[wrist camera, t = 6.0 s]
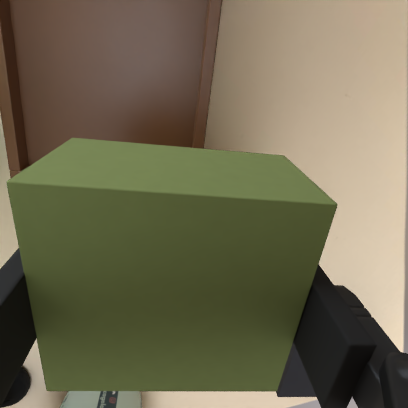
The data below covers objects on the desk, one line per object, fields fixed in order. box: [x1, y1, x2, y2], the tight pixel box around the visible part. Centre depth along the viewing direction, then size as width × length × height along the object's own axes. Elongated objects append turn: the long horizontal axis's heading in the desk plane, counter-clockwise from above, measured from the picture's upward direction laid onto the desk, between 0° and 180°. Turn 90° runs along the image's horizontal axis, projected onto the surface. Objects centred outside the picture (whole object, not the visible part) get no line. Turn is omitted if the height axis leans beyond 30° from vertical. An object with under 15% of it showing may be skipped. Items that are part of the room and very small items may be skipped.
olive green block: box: [7, 138, 337, 391], centre depth 12 cm, size 9×8×5 cm
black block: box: [276, 342, 317, 397], centre depth 34 cm, size 9×8×5 cm
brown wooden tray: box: [0, 0, 222, 178], centre depth 20 cm, size 23×15×2 cm, turn 173°
